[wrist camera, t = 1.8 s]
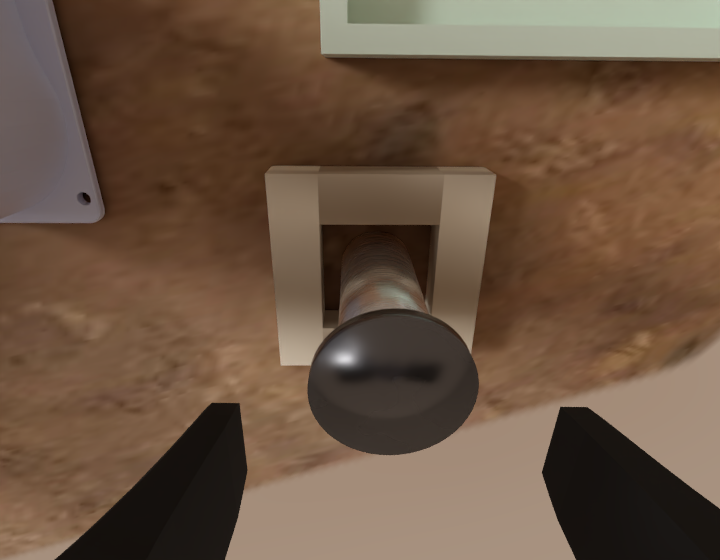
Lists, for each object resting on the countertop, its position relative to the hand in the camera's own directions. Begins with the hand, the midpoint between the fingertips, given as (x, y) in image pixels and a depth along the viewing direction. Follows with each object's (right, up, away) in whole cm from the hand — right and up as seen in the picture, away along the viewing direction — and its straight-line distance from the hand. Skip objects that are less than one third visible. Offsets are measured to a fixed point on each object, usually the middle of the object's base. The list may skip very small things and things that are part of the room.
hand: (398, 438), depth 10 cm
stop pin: (0, +4, +9) cm, 10 cm away
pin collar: (0, +4, +9) cm, 10 cm away
